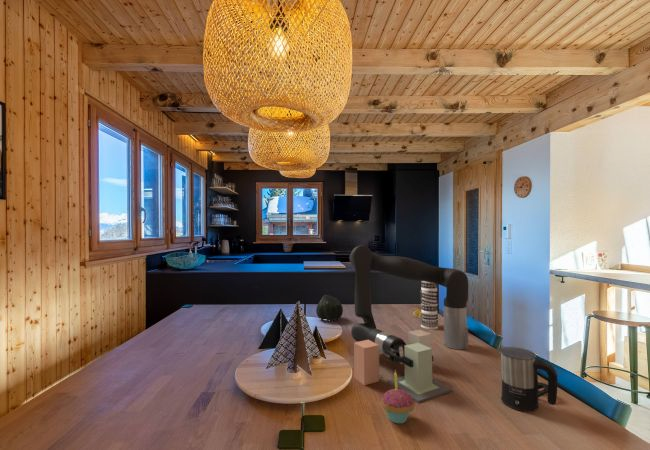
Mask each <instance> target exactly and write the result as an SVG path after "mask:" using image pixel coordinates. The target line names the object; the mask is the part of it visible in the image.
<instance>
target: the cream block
mask: <svg viewBox="0 0 650 450" xmlns="http://www.w3.org/2000/svg"><path fill="white" fill-rule="evenodd" d="M406 333H407V334H406V335H407V345H410V344H415V343H420V344H422V345H425V346H427V347H429V348H432V333H430V332H428V331H425V330H421V329H420V328H419V329H415V330H409V331H407V332H406Z"/></svg>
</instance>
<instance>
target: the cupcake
mask: <svg viewBox="0 0 650 450" xmlns="http://www.w3.org/2000/svg"><path fill="white" fill-rule="evenodd" d="M397 373H398V372H397V370H396V369H395V370H394V378H395V387H394V388H392V389H389V390H386V391H385V392H384V393H383V395H381V396H382V397H381V404H382V406H383V408H384V409H385V412H386V414H387V417H388V419H389V420H390V422H392V423H395V424H403V423H405V422H407V421H408V416H409V413H410V412H412V411H413V410H414V407H415V400H413V398H412V397H411V396H410V394H409V393H407V392H406V391H403V390H401V389H398V385H397V378H398V374H397Z"/></svg>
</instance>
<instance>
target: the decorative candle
mask: <svg viewBox="0 0 650 450" xmlns="http://www.w3.org/2000/svg"><path fill="white" fill-rule="evenodd" d="M420 282H421V287H420V288H421V289H420V291H419V295H420V304H421V310H422V312H421V317H422V318H420V327H422V328H423V329H426V330H437V329H439V320H438V319H439V313H438V305H439V302H438V301H439V298H438V297H439V295H438V294H439V290H438V287H437V285H438V284H436V283H433V282H428V281H420Z"/></svg>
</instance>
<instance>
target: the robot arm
mask: <svg viewBox="0 0 650 450" xmlns="http://www.w3.org/2000/svg"><path fill="white" fill-rule="evenodd" d="M349 263H350V264H351V265H352V266H353V267H354V272H355V275H354V276H355V284H354V285H355V286H354V315H355V317H357V318H360V319H362V320H363V322H362V323H361V322H360V323H356V324H353V326H352V327H351V330H350V334H351V337H352V338H353V339H354V341H355V342H359V341H364V340H370V341H372V342H374V343H376V344H378V345H379V353H382V354H383V355H385V359H386V360H388V361H389V362H391V363H393V364H394V365H398V364H400V365H404V366H405V365H407V366H409V367H413V360H411V359H409V358H407V357H406V356H405V346H406V345H407V343H406V342H405V341H404V339H403V338H401V337H398V336H397V335H394V334H392V333H390V332H385V331H384V330H381V329H378V328H377V325H376V322H375V317H374V315H373V312H372V293H371V271H376V272H380V273H383V274H387V275H388V276H389V275H390V276H393V277H397V278H400V279H404V280H409V281H415V282H416V281H417V282H421V281H428V282H433V283H436V284H437V285H439V286H442V287H444V288H445V289H446V294H445V298H444V299H443V342H444V343H443V344H444V346H445V347H447V348H450V349H453V350H464V349H465V350H467V349H469V326H468V324H467V321H468V320H467V318H468V317H467V316H468V315H467V304H468V301H469V278H468V275H467V274H466V273H465V272H464V271H462V270H460V269H456V268H452V267H451V268H450V267H442V266H436V265H435V266H434V265H431V264H429V263H426V262H423V261H420V260H417V259H414V258H410V257H405V256H396V255H381V254H380V255H379V254H377V253H372V251H371V249H370V248H369V247H368V246H367V245H363V244H360V245H357V246H355V247H354V248H353V249H352V250H351V252H350V254H349ZM433 362H434V355H433V354H432V363H433Z"/></svg>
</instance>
